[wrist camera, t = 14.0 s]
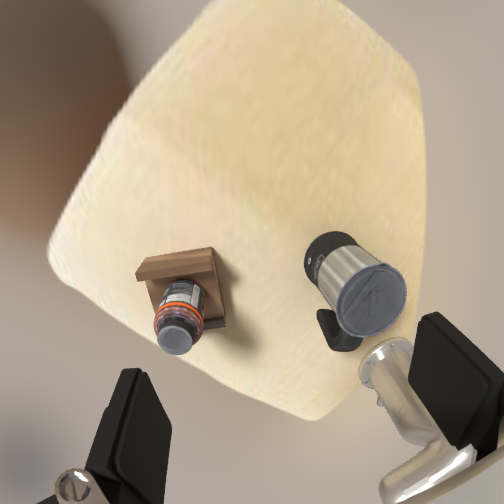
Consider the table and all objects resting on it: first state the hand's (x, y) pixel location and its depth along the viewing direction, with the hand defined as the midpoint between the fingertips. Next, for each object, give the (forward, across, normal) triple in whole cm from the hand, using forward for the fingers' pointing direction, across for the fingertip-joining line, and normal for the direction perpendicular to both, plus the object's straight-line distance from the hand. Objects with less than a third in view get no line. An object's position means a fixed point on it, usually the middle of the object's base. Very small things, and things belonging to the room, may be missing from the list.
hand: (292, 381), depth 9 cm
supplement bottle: (+32, +10, +11) cm, 35 cm away
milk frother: (+35, -16, +13) cm, 40 cm away
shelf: (+34, +10, +11) cm, 37 cm away
